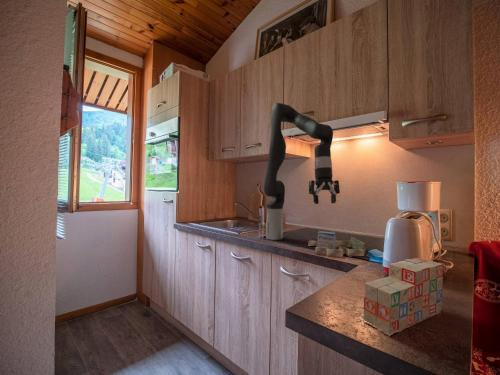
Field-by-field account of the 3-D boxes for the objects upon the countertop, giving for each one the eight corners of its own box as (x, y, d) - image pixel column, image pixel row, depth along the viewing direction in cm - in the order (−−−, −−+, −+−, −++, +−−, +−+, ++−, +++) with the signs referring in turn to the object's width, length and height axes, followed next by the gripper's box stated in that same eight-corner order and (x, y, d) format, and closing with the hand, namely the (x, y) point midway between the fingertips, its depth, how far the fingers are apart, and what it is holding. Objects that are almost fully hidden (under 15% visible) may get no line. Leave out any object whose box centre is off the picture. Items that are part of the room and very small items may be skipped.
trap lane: (318, 256, 106) (318, 245, 105) (308, 246, 122) (308, 236, 122) (368, 256, 106) (369, 245, 106) (352, 246, 123) (352, 236, 123)
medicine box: (317, 250, 116) (317, 232, 115) (319, 248, 119) (319, 230, 119) (334, 252, 112) (335, 233, 112) (336, 250, 116) (336, 232, 116)
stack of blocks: (390, 338, 50) (390, 279, 50) (363, 323, 56) (363, 269, 55) (442, 312, 60) (443, 263, 60) (415, 301, 66) (416, 256, 66)
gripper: (332, 169, 116) (333, 203, 115) (305, 168, 112) (306, 204, 111) (342, 166, 109) (344, 203, 108) (313, 166, 105) (315, 204, 104)
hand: (325, 203), depth 109 cm, fingers open, 8 cm apart
